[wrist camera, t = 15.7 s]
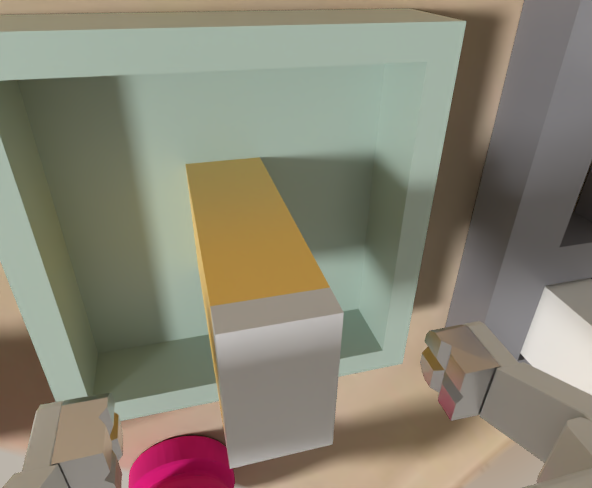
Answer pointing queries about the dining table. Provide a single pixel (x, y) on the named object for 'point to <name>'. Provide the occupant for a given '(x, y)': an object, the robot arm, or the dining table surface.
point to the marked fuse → (263, 314)
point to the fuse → (563, 333)
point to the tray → (207, 148)
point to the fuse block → (533, 177)
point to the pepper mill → (183, 465)
